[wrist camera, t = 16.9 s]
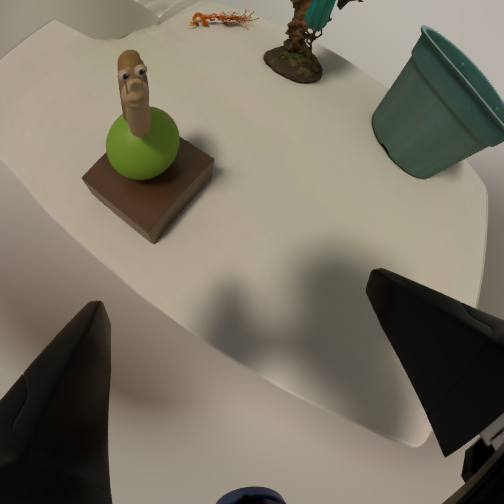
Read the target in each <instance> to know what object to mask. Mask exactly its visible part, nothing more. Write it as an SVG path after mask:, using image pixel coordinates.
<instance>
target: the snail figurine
mask: <svg viewBox="0 0 504 504" xmlns="http://www.w3.org/2000/svg"><path fill="white" fill-rule="evenodd" d="M146 72H147V67H146V66H145V65H144V63H143V61H142V60H141V59H140V55H139V53H138V52H137V51H134V50H127V51H125V52H123V53H122V54H121V55H120V56H119V58H118V81H119V90H120V98H121V104H122V111H123V114H122V115H121V116H120V117H119V118H118V119H117V120H116V121H115V122H114V123H113V125H112V126H111V128H110V130H109V133H108V136H107V140H106V152H107V156H108V159H109V161H110V163H111V165H112V166H113V168H114V169H115V170H116V171H117V172H118V173H120V174H121V175H123V176H124V177H127V178H130V179H134V180H146V179H150V178H153V177H156V176H158V175H159V174H161V173H163V172H164V171H165V170H166V169H167V168H168V167H169V166H170V165H171V164H172V162H173V161H174V159H175V157H176V155H177V153H178V149H179V143H180V137H179V131H178V128H177V126H176V124H175V122H174V120H173V119H172V118H171V117H170V116H169V115H168V114H167V113H166V112H164V111H162V110H160V109H158V108H155V107H149V87H148V80H147V75H146Z"/></svg>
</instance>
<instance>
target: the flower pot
mask: <svg viewBox="0 0 504 504" xmlns="http://www.w3.org/2000/svg"><path fill="white" fill-rule="evenodd" d="M421 32H422V35H421V36H420V38H419V40H418V42H417V43H416V45H415V46H414V48H413V50H412V56H411V58H410V59H409V61H408V62H407V64H406V65H405V67H404V68H403V70H402V71H401V73H400V75H399V76H398V77H397V79H396V80H395V82H394V83H393V85H392V87H391V88H390V89H389V91H388V92H387V94H386V95H385V97H384V98H383V100H382V101H381V103H380V104H379V106H378V107H377V109H376V110H375V112H374V114H373V118H372V123H373V128H374V131H375V134H376V136H377V138H378V140H379V142H380V143H382V144H384V146H385V147H386V148H387V150H388V154H389V156H390V157H391V158H392V160H393V161H394V162H395V163H396V164H397V165H399V166H400V167H401V168H402V169H403V170H405V171H406V172H408V173H409V174H411V175H413V176H415V177H418V178H428V177H431V176H433V175H435V174H437V173H439V172H441V171H442V170H444V169H446V168H448V167H450V166H452V165H454V164H456V163H458V162H460V161H462V160H464V159H465V158H467V157H469V156H471V155H473V154H475V153H477V152H479V151H481V150H483V149H485V148H487V147H488V146H490V147H494V146H496V145H498V144H500V143H502V142H504V102H503V100H502V99H501V97H500V96H499V95H498V93H497V91H496V90H495V89H494V87H493V86H492V85H491V83H490V82H489V80H488V79H487V78H486V77H485V76H484V74H483V73H482V72H481V71H480V70H479V68H478V67H477V66H476V65H475V64H474V63H473V62H472V61H471V60H470V59H469V58H468V57H467V56H466V55H465V54H464V53H463V52H462V51H461V50H460V49H459V48H458V47H456V46H455V45H454V44H453V43H452V42H450V41H449V40H448V39H446V38H445V37H444V36H442V35H441V34H440V33H438V32H437V31H435V30H433V29H432V28H430V27H427V26H422V27H421Z"/></svg>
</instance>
